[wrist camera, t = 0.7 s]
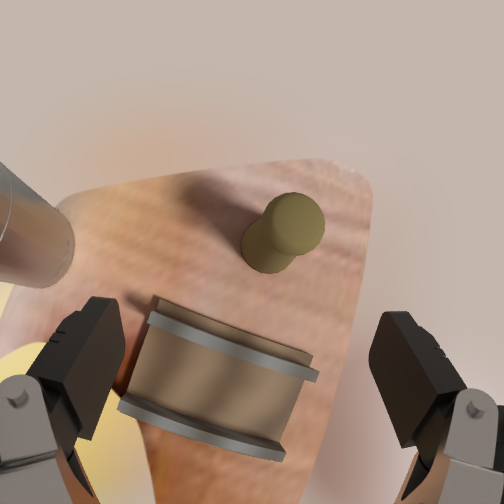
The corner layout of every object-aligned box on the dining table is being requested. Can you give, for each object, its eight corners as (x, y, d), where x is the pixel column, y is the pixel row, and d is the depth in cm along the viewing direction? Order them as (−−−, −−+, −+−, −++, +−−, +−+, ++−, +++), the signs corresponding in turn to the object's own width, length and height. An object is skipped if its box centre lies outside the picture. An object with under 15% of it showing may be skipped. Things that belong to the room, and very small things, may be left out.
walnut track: (121, 409, 29) (113, 420, 25) (161, 299, 32) (156, 297, 28) (268, 457, 31) (277, 472, 27) (310, 354, 34) (324, 359, 30)
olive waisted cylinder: (240, 218, 35) (260, 179, 24) (293, 220, 36) (332, 184, 26) (241, 274, 34) (262, 257, 23) (296, 273, 35) (338, 257, 24)
